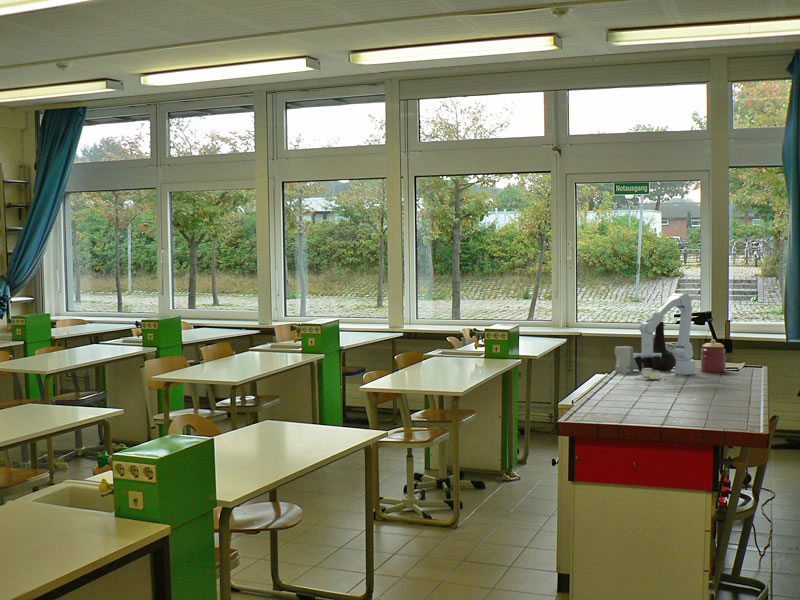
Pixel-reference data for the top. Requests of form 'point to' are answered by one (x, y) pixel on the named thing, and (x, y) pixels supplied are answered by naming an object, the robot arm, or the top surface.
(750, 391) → the top surface
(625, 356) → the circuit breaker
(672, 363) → the glass bottle
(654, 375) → the slider
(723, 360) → the canister
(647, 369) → the slider
